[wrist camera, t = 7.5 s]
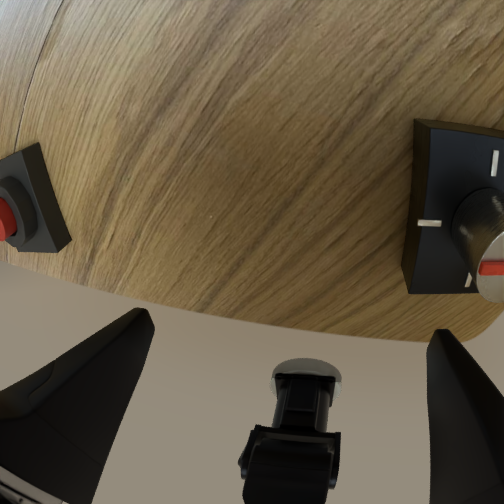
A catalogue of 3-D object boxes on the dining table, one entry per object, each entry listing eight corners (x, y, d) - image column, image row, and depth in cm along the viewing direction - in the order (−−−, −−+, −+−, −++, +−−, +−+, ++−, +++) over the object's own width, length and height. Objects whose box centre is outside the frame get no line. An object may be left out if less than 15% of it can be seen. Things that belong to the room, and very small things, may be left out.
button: (22, 231, 21) (10, 241, 20) (6, 232, 22) (-6, 241, 21) (8, 195, 19) (-6, 204, 18) (-7, 199, 20) (-19, 208, 19)
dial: (518, 191, 11) (559, 229, 8) (502, 258, 14) (530, 304, 10) (457, 184, 12) (493, 225, 9) (444, 257, 15) (467, 309, 11)
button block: (72, 240, 25) (45, 264, 22) (30, 241, 27) (7, 261, 24) (38, 141, 20) (5, 158, 17) (1, 159, 22) (-27, 175, 19)
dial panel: (496, 266, 17) (512, 293, 14) (396, 266, 19) (404, 296, 17) (523, 135, 12) (550, 149, 9) (408, 117, 14) (425, 127, 11)
